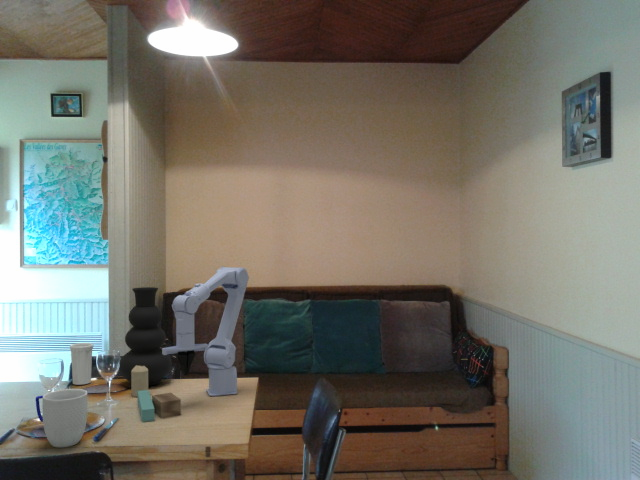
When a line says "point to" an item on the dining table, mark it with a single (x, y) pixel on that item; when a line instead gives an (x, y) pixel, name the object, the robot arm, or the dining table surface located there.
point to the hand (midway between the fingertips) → (185, 374)
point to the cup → (81, 362)
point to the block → (166, 405)
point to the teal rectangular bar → (145, 406)
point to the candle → (139, 380)
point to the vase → (145, 338)
